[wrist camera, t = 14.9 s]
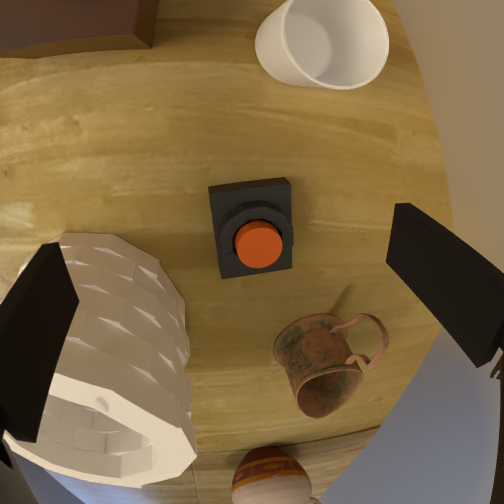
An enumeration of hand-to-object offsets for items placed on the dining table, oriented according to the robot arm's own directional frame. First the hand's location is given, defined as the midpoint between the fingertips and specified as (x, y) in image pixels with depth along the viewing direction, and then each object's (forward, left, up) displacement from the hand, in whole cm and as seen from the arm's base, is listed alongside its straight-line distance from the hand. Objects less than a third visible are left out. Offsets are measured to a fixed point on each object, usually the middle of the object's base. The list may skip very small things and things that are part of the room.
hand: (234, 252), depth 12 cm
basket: (+25, -7, -22) cm, 34 cm away
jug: (+60, +33, -22) cm, 72 cm away
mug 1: (-14, +3, -22) cm, 26 cm away
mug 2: (+19, +23, -22) cm, 37 cm away
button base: (+7, +7, -21) cm, 24 cm away
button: (+7, +7, -18) cm, 20 cm away
